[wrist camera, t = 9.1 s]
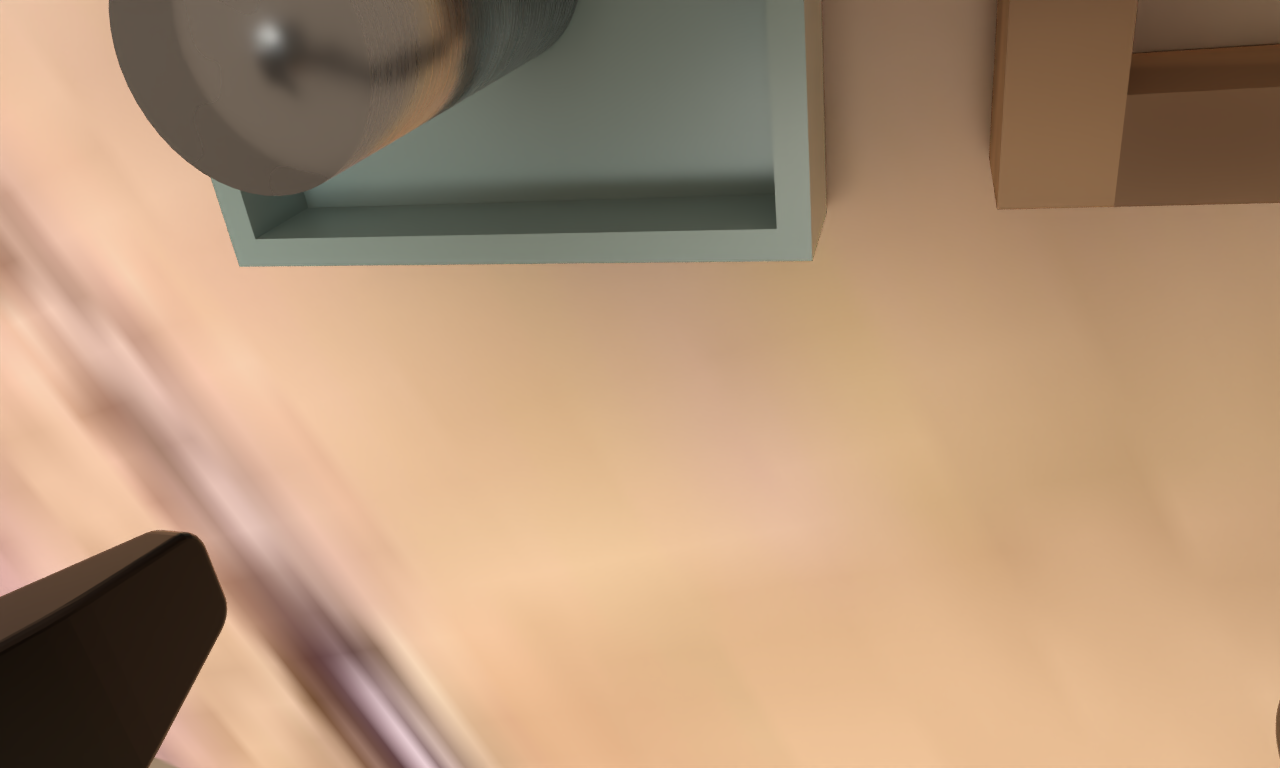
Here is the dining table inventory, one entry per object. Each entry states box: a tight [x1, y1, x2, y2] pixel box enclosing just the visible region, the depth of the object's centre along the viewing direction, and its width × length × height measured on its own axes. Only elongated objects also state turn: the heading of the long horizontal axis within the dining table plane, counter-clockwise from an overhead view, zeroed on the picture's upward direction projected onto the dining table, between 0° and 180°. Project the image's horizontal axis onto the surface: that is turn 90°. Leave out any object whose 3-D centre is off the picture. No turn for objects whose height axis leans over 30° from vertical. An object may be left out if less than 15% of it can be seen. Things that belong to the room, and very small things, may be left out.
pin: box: [109, 0, 578, 196], centre depth 15 cm, size 3×3×8 cm
